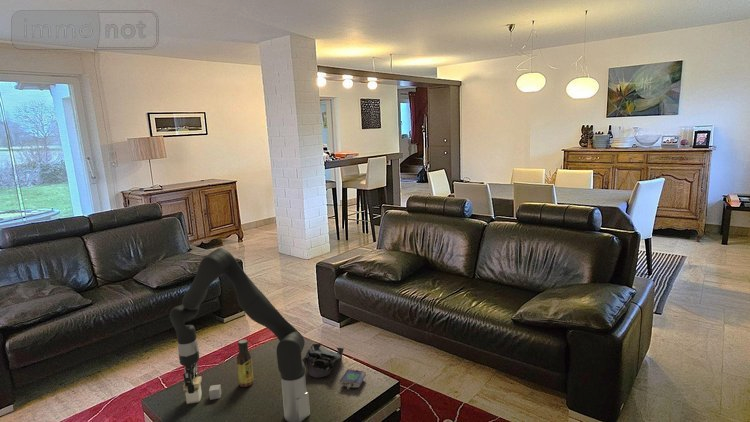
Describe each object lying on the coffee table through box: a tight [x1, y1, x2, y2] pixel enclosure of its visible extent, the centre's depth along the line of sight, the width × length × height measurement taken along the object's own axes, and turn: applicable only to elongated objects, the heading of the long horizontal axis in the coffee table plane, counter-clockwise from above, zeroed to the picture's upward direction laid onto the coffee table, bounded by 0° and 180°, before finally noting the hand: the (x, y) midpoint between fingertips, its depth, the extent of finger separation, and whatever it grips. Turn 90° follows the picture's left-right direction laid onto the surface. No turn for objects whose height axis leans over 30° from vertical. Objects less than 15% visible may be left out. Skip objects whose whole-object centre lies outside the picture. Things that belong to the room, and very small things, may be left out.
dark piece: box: [301, 343, 344, 378], centre depth 198 cm, size 18×20×9 cm
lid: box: [182, 375, 203, 391], centre depth 176 cm, size 6×6×3 cm
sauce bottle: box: [236, 339, 254, 388], centre depth 186 cm, size 7×6×20 cm
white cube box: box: [185, 384, 203, 405], centre depth 177 cm, size 5×5×5 cm
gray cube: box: [208, 384, 222, 401], centre depth 179 cm, size 4×4×4 cm
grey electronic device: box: [339, 368, 367, 390], centre depth 183 cm, size 9×3×11 cm
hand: (193, 388), depth 177 cm, fingers closed on lid, 6 cm apart
